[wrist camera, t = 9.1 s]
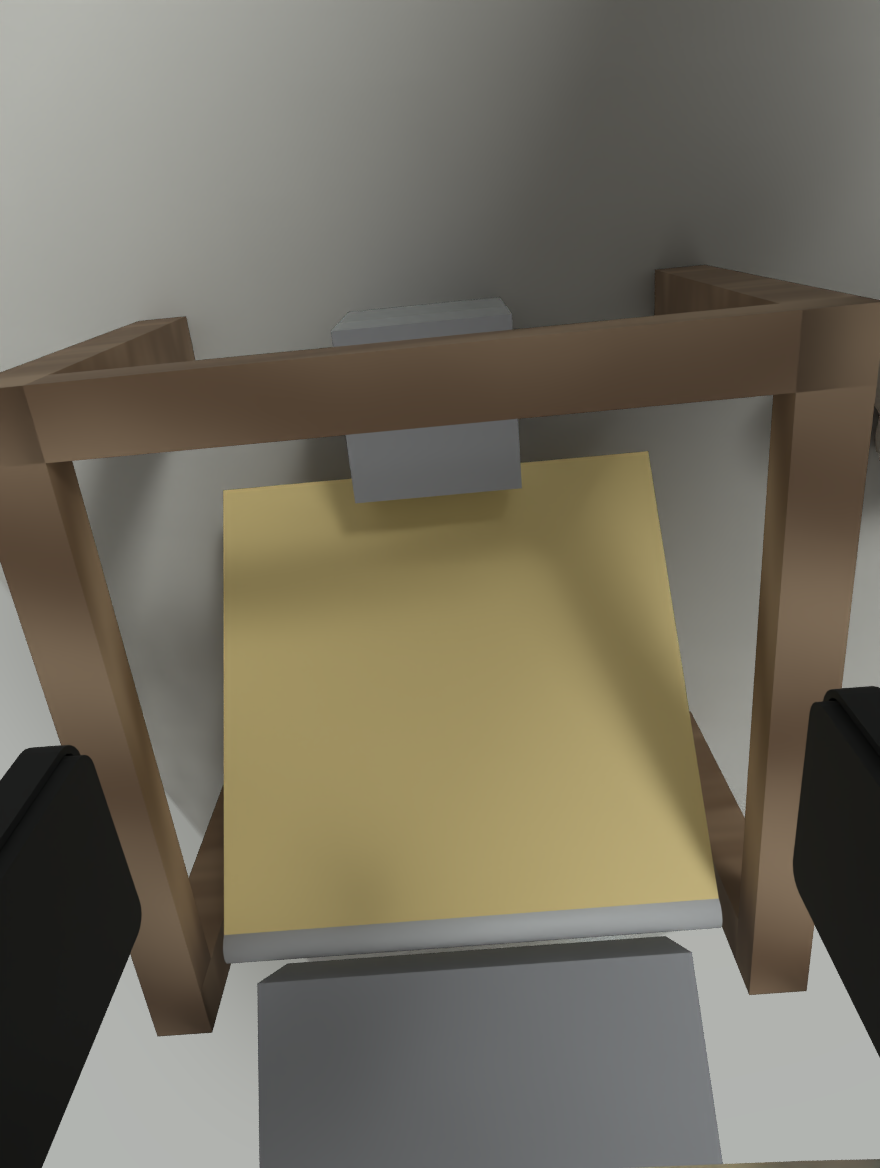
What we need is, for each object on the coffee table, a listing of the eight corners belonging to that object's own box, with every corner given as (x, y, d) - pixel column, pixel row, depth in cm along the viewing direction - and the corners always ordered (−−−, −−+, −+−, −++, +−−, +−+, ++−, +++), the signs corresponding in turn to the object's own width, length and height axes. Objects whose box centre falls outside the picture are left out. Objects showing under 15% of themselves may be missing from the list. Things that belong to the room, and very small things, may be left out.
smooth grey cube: (367, 459, 30) (348, 311, 28) (508, 445, 30) (499, 296, 28) (355, 503, 25) (330, 331, 23) (521, 488, 25) (511, 313, 23)
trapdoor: (251, 525, 31) (221, 488, 28) (631, 491, 31) (649, 448, 27) (258, 1183, 25) (221, 1239, 22) (730, 1153, 25) (769, 1206, 21)
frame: (138, 321, 28) (-56, 393, 17) (704, 264, 27) (886, 301, 16) (244, 779, 35) (157, 1036, 24) (689, 744, 35) (806, 990, 24)
